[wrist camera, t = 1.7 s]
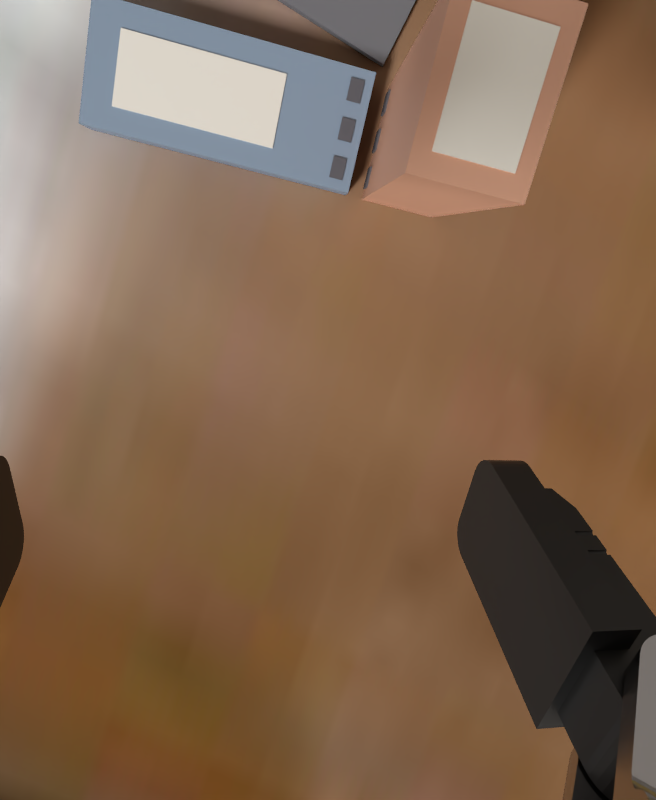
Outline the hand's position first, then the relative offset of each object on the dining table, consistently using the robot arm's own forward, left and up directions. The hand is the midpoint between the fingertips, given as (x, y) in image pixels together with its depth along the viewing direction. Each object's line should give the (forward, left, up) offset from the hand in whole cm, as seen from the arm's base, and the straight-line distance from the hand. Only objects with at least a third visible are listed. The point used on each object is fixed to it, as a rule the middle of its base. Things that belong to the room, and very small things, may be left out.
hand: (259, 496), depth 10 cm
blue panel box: (-7, +8, -19) cm, 22 cm away
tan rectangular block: (+1, +10, -19) cm, 22 cm away
